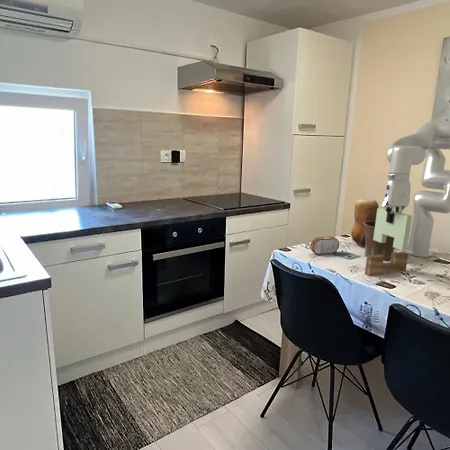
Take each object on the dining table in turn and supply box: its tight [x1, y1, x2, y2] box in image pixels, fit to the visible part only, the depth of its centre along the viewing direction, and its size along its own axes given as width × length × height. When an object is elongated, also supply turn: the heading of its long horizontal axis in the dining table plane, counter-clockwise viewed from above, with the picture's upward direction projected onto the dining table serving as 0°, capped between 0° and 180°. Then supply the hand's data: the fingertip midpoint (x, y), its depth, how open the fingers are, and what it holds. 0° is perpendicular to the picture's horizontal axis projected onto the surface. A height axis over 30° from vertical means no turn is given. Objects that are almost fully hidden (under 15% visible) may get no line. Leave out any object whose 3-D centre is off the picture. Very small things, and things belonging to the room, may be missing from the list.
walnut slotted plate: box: [364, 251, 409, 277], centre depth 157 cm, size 2×20×8 cm, turn 111°
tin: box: [310, 235, 340, 255], centre depth 180 cm, size 15×3×8 cm, turn 108°
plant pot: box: [364, 221, 395, 261], centre depth 177 cm, size 16×16×16 cm
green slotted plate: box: [373, 207, 413, 251], centre depth 153 cm, size 16×2×14 cm, turn 21°
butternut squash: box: [350, 198, 379, 247], centre depth 194 cm, size 14×13×25 cm
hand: (392, 222), depth 153 cm, fingers closed on green slotted plate, 2 cm apart
